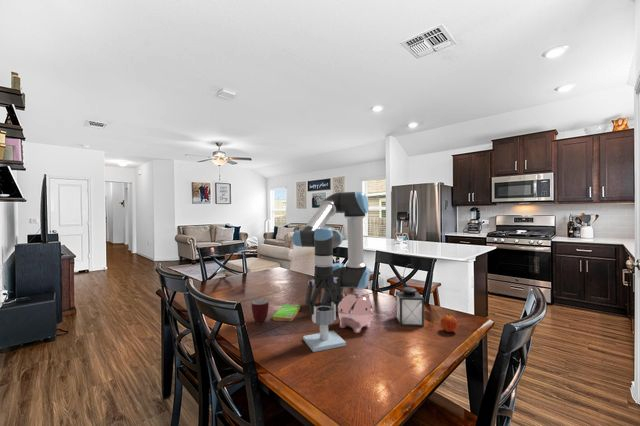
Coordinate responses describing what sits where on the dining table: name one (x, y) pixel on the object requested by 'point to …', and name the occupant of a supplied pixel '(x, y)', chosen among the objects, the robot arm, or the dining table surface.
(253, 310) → the mug
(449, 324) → the fruit
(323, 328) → the block
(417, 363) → the dining table surface
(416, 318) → the lantern
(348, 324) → the piggy bank
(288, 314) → the game box
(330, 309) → the ring
